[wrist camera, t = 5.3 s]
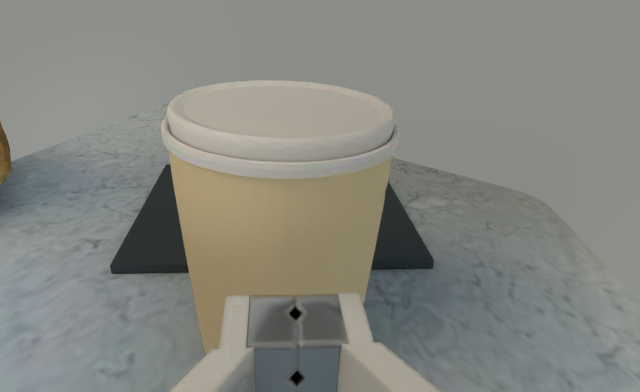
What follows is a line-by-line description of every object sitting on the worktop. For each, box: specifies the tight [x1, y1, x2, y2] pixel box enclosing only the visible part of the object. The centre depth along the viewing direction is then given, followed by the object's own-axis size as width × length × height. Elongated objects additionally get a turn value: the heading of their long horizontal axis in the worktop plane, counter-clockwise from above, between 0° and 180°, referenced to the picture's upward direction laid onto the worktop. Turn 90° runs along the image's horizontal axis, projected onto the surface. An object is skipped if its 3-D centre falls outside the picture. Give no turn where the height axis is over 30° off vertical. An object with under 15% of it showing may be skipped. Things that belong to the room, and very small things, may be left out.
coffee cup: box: [161, 80, 400, 354], centre depth 20 cm, size 9×9×12 cm
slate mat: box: [110, 164, 434, 273], centre depth 35 cm, size 20×16×1 cm
